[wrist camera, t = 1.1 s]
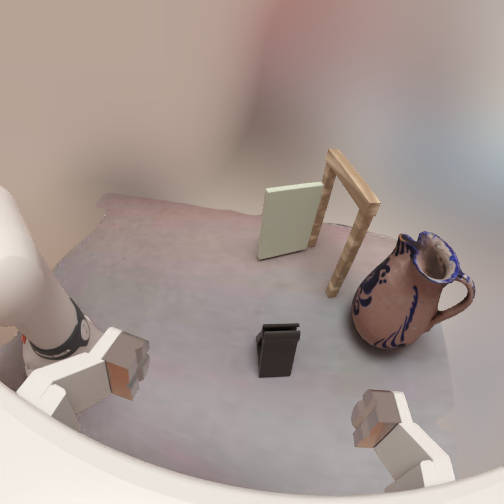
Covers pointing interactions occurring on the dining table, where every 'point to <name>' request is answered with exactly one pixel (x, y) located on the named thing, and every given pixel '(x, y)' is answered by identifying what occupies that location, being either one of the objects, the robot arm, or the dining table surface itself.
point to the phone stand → (277, 349)
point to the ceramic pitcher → (408, 292)
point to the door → (288, 218)
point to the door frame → (367, 210)
